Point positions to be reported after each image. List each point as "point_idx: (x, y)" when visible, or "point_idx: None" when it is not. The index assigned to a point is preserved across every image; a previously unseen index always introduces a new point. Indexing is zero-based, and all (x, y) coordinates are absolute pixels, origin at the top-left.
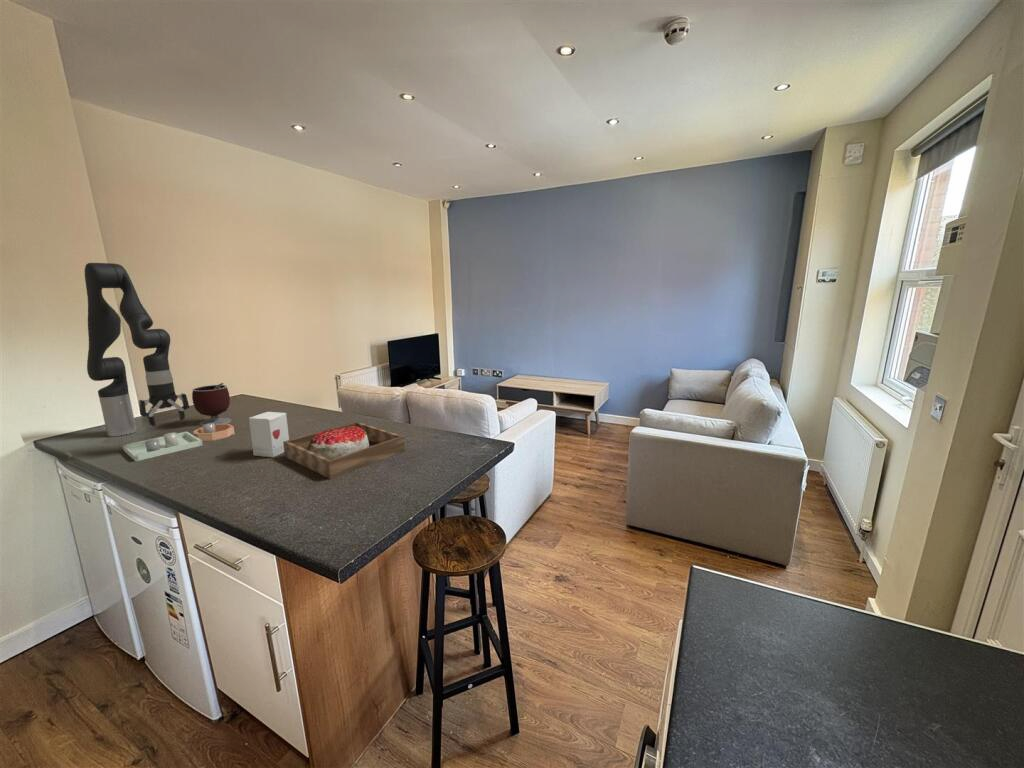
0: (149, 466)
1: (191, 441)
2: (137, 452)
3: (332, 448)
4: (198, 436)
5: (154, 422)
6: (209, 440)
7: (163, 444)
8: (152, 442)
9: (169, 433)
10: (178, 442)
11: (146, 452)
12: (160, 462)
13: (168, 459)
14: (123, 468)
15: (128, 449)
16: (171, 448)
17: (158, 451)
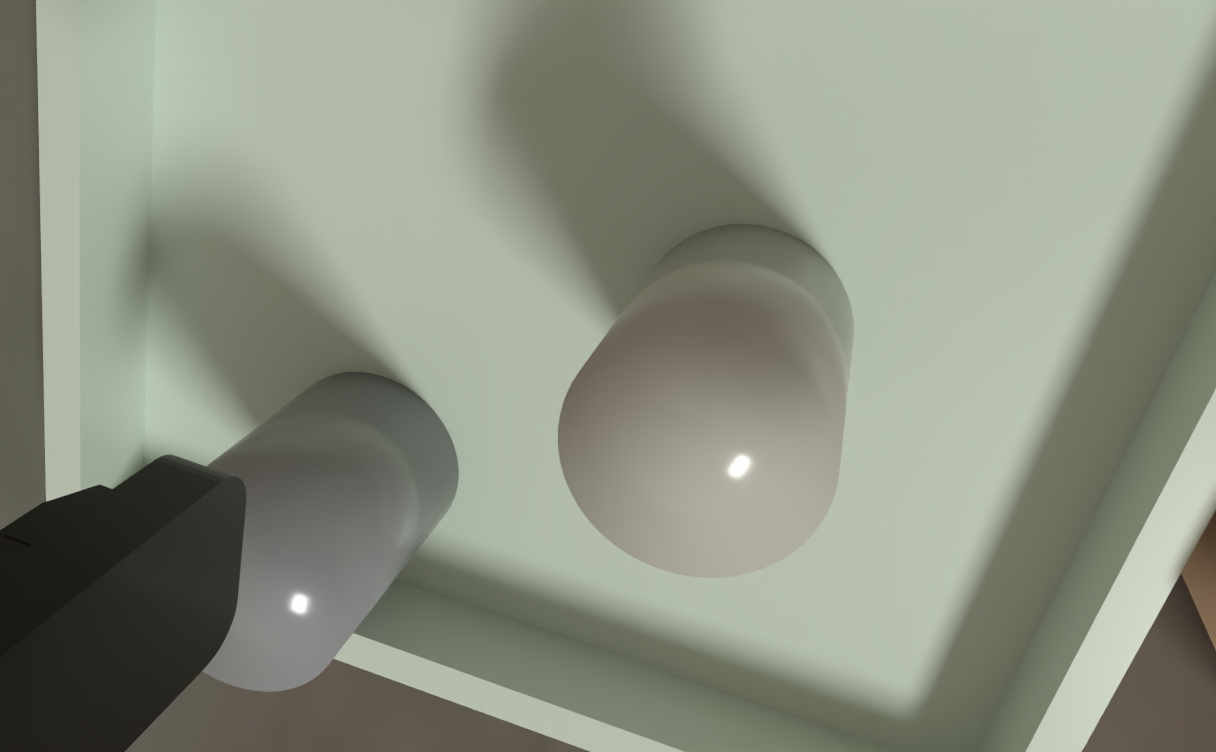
0: (213, 723)
1: (1098, 437)
2: (244, 73)
3: None
4: (1207, 628)
5: (132, 717)
6: None
7: (729, 27)
8: (214, 677)
9: (709, 411)
10: (951, 220)
11: (330, 246)
12: (335, 728)
13: (437, 729)
14: (11, 492)
15: (55, 72)
16: (516, 710)
17: (342, 649)
